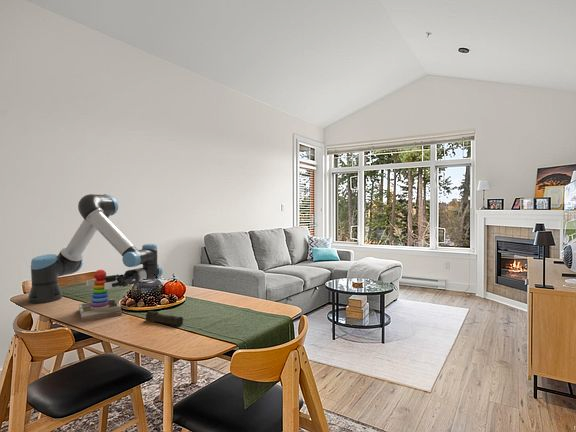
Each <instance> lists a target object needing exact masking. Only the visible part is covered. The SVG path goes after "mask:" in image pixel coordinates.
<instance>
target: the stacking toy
mask: <svg viewBox="0 0 576 432" xmlns="http://www.w3.org/2000/svg"><path fill="white" fill-rule="evenodd" d="M106 276H107V271H105V270H104V269H98V270H96V271H95V272H94V273H93V277H94V279H96V280H95V281H94V284H95V285H92V286H93V287H92V288H93V290H92V294H91V295H92V296H91V297H92V298H91V308H90V309H91V310H98V309H105V308H109V304H108V303H109V301H108V300H109V296H108V295H109V293H108V289H106V290H105V289H104V283H107V282H106V280H104V279H105V277H106Z"/></svg>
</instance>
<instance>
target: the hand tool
mask: <svg viewBox="0 0 576 432" xmlns="http://www.w3.org/2000/svg"><path fill="white" fill-rule="evenodd" d="M145 320H146V321H147V322H149V323H154V324H155V323H163V324H166V325H172V326H176V327H177V328H178V327H181V326H182V325H183V324H184V318H183V316H176V315H175V316H174V315H167V314H162V313H159V311H154V310H148V311H147V312H146V314H145Z"/></svg>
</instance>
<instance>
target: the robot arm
mask: <svg viewBox="0 0 576 432" xmlns="http://www.w3.org/2000/svg"><path fill="white" fill-rule="evenodd" d="M118 203H119V202H118V200H117V199H116V198H115V196H113V195H110V194H105V193H104V194H94V193H93V194H92V193H91V194H86V195H84V196H83V197H81V198H80V199H79V201H78V206H77V207H78V208H77V209H78V212H79V214H80V216H81V217H82V219H83V220H82V221H81V224H80V225H79V227H78V228H77V230H76V231H75V233H74V235H73V236H72V237H71V239H70V241H69V243H68V244H67V246H66V247H63V248H62V249H61V250H60V251H59V253H58V255H57V254H52V253H50V254H42V255H38V256H35V257H33V258H32V259H31V261H30V273H31V274H30V275H31V278H30V279H31V287H30V291H29V292H28V297H27V302H28V303H29V304H30V303H31V304H41V303H43V304H44V303H51V302H54V301H55V302H56V301H58V300H60V299H62V298H63V292H62V290H61V288H60V285H59V281H58V279H59V277H63V276H67V275H72V274H74V273H77V272H78V271H80V270H81V269H82V267H83V264H84V262H83V253H84V251H85V250H86V248H87V246H89V244H90V243H91V240H92V239H93V237H94V235H95V234H96V232H97V231H98V232H99V234H100V235H102V236H103V238H104V239H105V240H106V241H108V243H109V244H110V245H111V246H112V247H113V248H114V249H115V250H116V251H117V252H118V253H119V254H120V255H121V256H122V257H121V258H122V262H123V265H124V266H125V267H128V268H133V269H128V270H126V271H125V272H124V273H123V274H113V275H106V277H105V279H104V280H106V283H104V289H105V290H106V289H107V290H110V289H114V288H117V287H124V288H125V287H126V286H131V285H136V284H137V283H136V282H138V281H141V280H143V279H154V280H156V279H155V278H156V276H157V277H158V278H157V279H160V278H161V276H162V275H163V269H162V266H161V265H159V264H158V245H157V244H155V243H144V244H143V245H142V247H141V249H138V248H137V247H136V246H135V245H134V244H133V243H132V242H131V241H130V239H128V238H127V237H126V236H125V234H123V232H122V231H120V229H119V228H118V227H117V226H116V225H115V224H114V223H113V222H112V221H111V219H109V217H110V216H113V215H115V214H117V212H118V210H119V204H118ZM140 265H142V267H138V266H140ZM134 267H138V268H134ZM152 273H153V274H152ZM154 274H155V275H156V276H155V275H154ZM95 280H96V279H95V278H93V279H87V280H85V281H86V287H89V286H94V285H95V284H94V281H95ZM135 283H136V284H135Z"/></svg>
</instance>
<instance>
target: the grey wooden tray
mask: <svg viewBox="0 0 576 432" xmlns="http://www.w3.org/2000/svg"><path fill="white" fill-rule="evenodd" d="M108 301H109V303H108V304H109V308H105V309H98V310H91V309H90V308H91V302H92V301H91V302H84V303H83V302H82V303H78V310H79V316H80V319H81V322H83V323H84V322H88V321H93V320H100V319H102V320H103V319H107V318H113V317H119V316H120V317H121V316H123V312H122V305H121V304H120V303H119V301H118V299H117V298H111V299H108Z"/></svg>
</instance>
